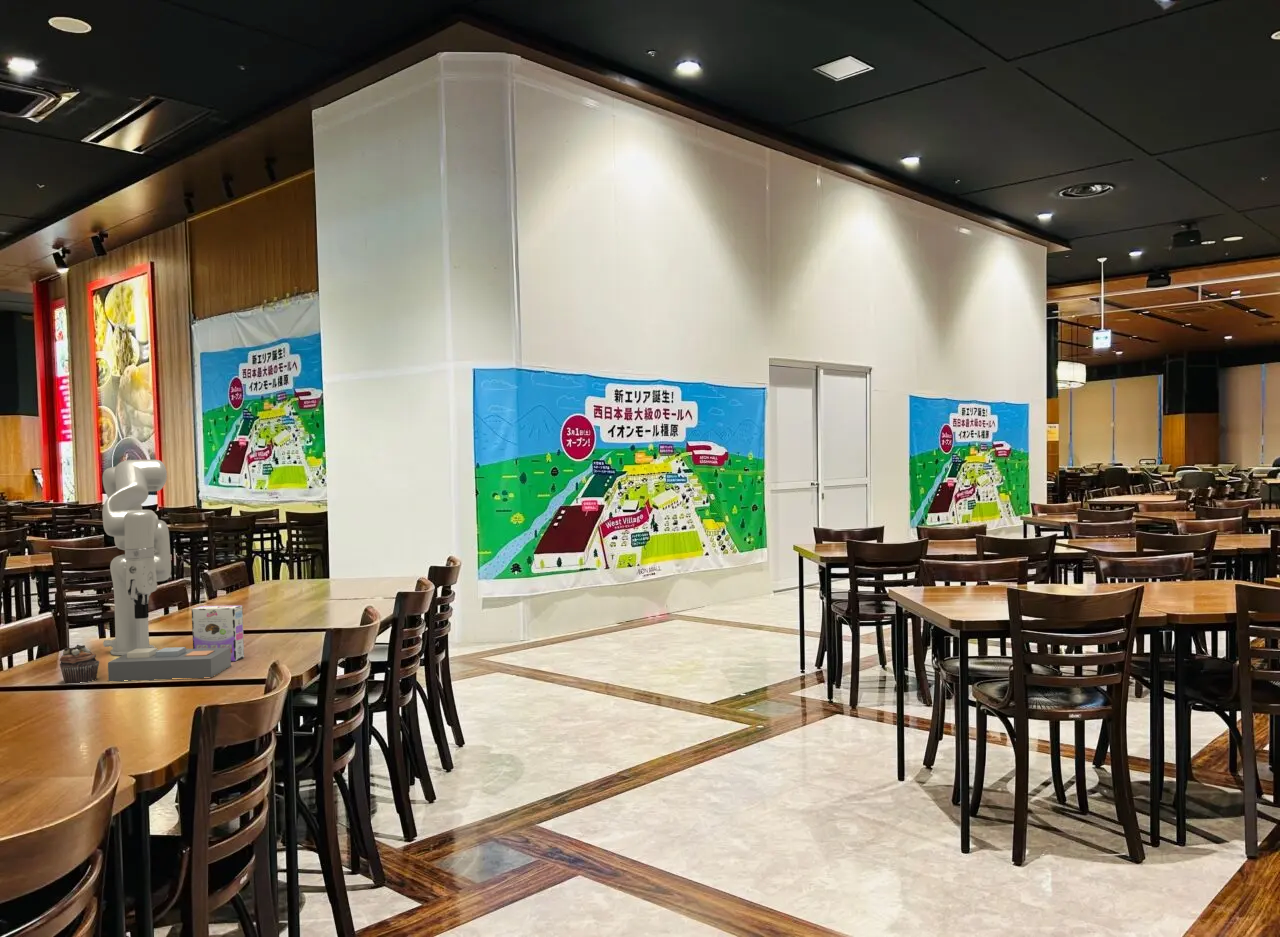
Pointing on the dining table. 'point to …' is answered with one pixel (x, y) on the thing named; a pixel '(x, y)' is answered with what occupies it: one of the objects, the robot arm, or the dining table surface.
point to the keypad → (170, 666)
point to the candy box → (219, 628)
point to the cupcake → (78, 665)
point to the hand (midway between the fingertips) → (141, 617)
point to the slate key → (171, 652)
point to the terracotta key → (199, 653)
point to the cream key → (142, 653)
